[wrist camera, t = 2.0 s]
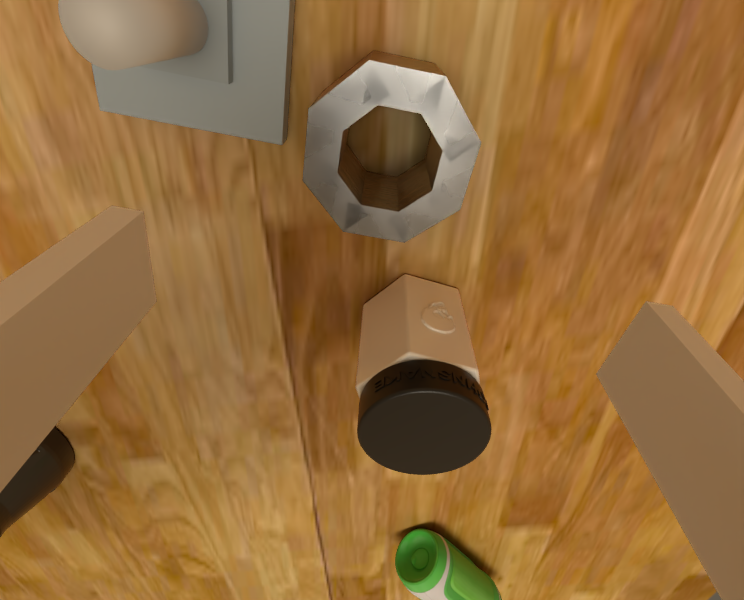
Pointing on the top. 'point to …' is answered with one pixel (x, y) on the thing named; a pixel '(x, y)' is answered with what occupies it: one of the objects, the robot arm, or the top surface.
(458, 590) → the speaker
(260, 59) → the shaft stand
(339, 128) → the tube
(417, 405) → the jar
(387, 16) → the top surface
